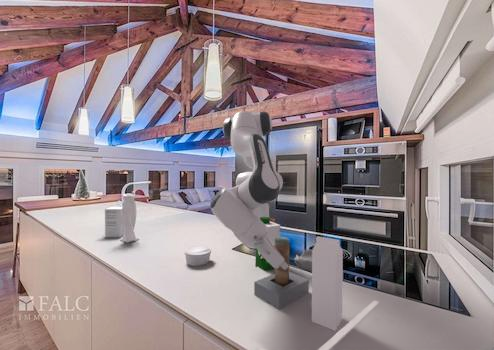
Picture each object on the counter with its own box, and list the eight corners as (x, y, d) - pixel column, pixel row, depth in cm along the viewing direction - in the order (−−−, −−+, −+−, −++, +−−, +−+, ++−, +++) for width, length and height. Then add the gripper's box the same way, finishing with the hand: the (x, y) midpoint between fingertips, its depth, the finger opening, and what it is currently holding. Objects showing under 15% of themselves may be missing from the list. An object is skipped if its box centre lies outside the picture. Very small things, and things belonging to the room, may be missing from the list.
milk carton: (270, 262, 100) (270, 216, 100) (282, 270, 92) (283, 219, 92) (252, 266, 96) (252, 217, 96) (263, 274, 88) (264, 222, 88)
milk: (319, 313, 64) (320, 233, 64) (342, 322, 60) (343, 237, 60) (311, 325, 59) (311, 238, 59) (335, 335, 55) (336, 242, 55)
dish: (293, 270, 92) (293, 258, 92) (298, 258, 105) (298, 247, 105) (332, 276, 87) (332, 263, 87) (332, 263, 100) (332, 251, 100)
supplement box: (112, 233, 147) (112, 206, 146) (127, 232, 148) (127, 206, 147) (104, 237, 137) (104, 209, 137) (121, 237, 138) (120, 208, 138)
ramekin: (205, 268, 94) (205, 255, 94) (179, 266, 96) (179, 253, 96) (214, 258, 105) (214, 246, 105) (191, 256, 107) (191, 245, 107)
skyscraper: (140, 240, 132) (140, 190, 131) (127, 244, 125) (126, 191, 125) (132, 238, 136) (132, 190, 136) (118, 241, 129) (118, 191, 129)
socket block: (284, 283, 81) (284, 269, 81) (308, 295, 73) (308, 279, 73) (254, 297, 72) (254, 281, 72) (278, 312, 64) (279, 294, 64)
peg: (281, 288, 76) (281, 236, 75) (291, 293, 72) (292, 239, 72) (271, 293, 73) (272, 238, 73) (282, 298, 69) (282, 242, 69)
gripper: (266, 234, 61) (302, 270, 62) (255, 218, 82) (282, 245, 83) (249, 251, 61) (285, 287, 62) (242, 231, 81) (270, 258, 82)
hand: (283, 263), depth 72 cm, fingers closed on peg, 4 cm apart
